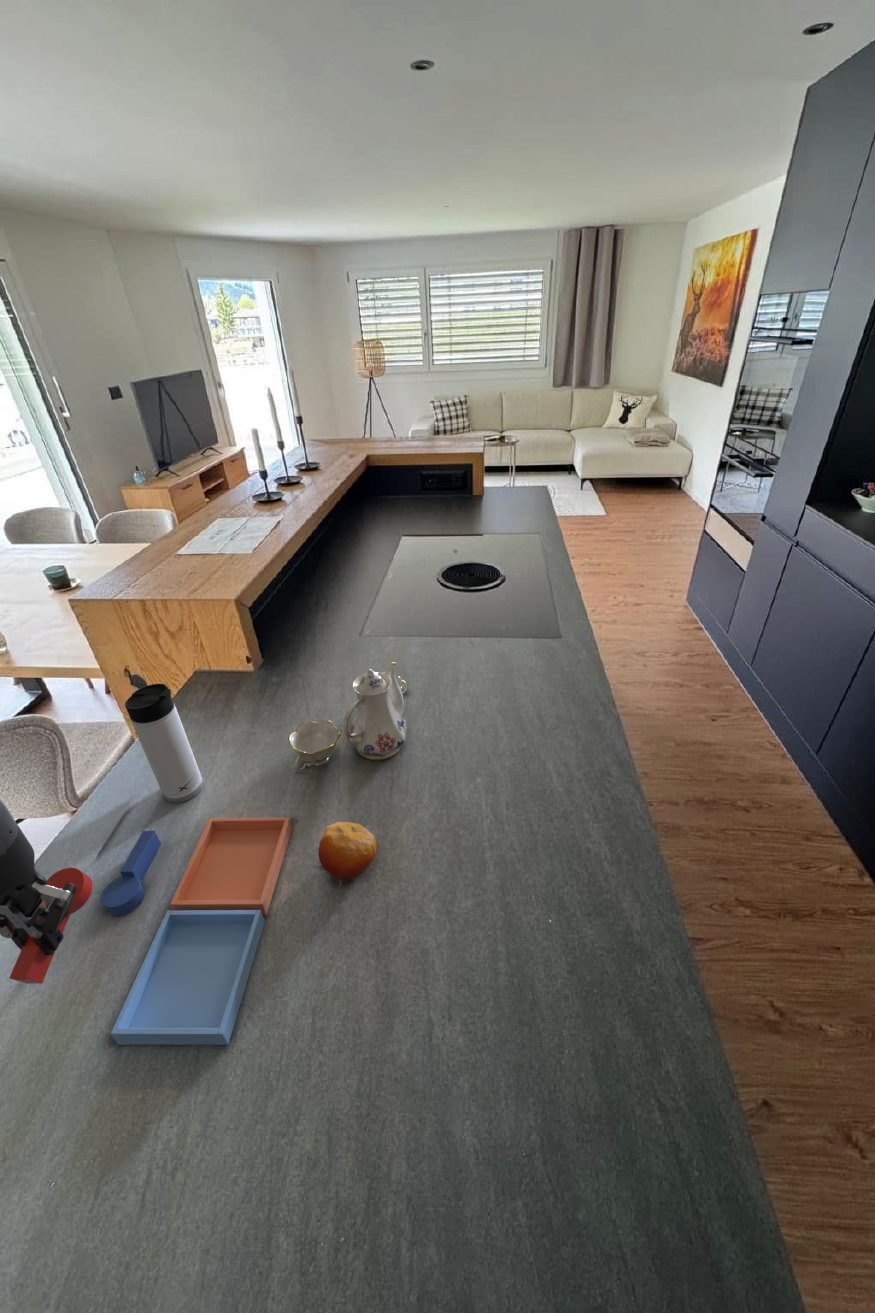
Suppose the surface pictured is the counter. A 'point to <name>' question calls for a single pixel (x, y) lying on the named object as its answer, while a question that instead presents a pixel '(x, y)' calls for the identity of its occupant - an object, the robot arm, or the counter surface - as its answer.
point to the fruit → (346, 850)
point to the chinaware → (359, 722)
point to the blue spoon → (131, 877)
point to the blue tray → (191, 979)
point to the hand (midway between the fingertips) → (44, 946)
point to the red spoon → (31, 957)
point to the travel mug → (164, 742)
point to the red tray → (234, 865)
